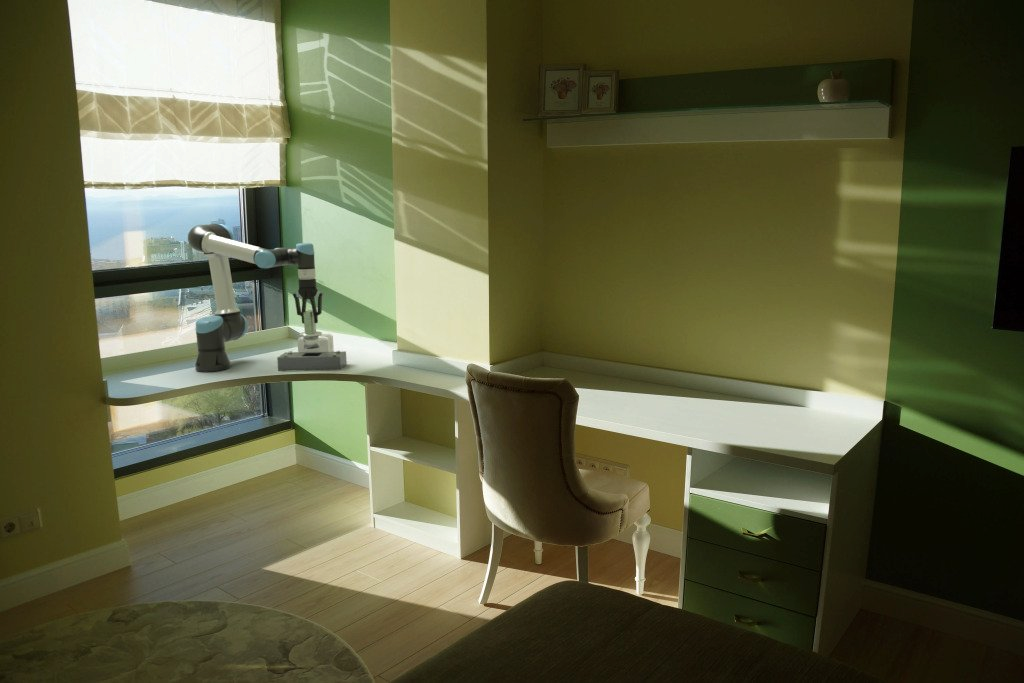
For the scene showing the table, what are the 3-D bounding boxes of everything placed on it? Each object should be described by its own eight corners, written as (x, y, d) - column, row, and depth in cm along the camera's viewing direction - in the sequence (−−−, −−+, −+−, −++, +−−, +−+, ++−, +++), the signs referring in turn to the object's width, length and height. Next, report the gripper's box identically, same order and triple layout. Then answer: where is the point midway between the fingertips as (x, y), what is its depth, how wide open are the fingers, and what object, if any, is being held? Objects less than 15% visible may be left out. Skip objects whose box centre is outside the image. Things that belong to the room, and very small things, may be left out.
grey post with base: (298, 349, 369) (295, 312, 366) (303, 345, 379) (301, 309, 376) (319, 349, 369) (317, 312, 366) (324, 345, 379) (322, 309, 376)
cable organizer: (336, 357, 399) (334, 333, 397) (328, 361, 388) (327, 337, 386) (305, 357, 401) (304, 333, 398) (297, 361, 390) (296, 337, 388)
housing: (278, 370, 370) (277, 355, 369) (286, 365, 382) (285, 350, 381) (340, 369, 369) (339, 354, 368) (346, 364, 381) (345, 349, 380)
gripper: (286, 279, 365) (290, 332, 369) (322, 278, 364) (326, 331, 369) (291, 277, 372) (295, 329, 377) (327, 277, 372) (330, 328, 376)
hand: (310, 330), depth 373 cm, fingers closed on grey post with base, 3 cm apart
